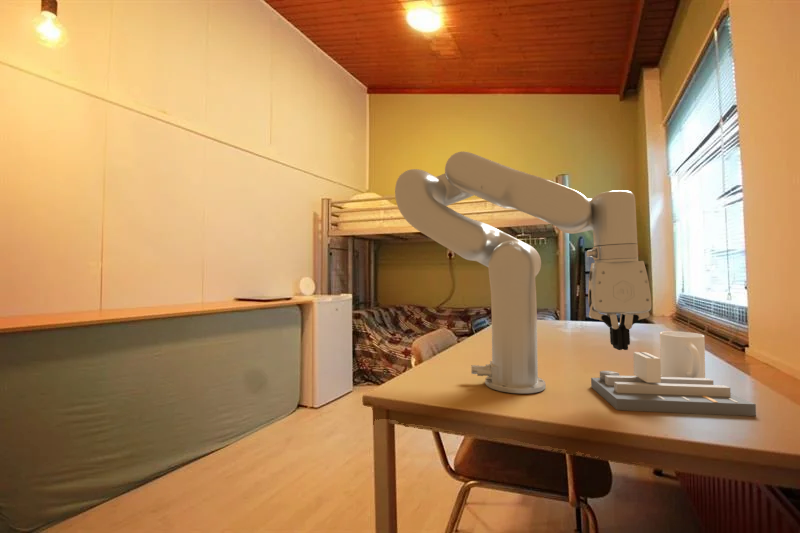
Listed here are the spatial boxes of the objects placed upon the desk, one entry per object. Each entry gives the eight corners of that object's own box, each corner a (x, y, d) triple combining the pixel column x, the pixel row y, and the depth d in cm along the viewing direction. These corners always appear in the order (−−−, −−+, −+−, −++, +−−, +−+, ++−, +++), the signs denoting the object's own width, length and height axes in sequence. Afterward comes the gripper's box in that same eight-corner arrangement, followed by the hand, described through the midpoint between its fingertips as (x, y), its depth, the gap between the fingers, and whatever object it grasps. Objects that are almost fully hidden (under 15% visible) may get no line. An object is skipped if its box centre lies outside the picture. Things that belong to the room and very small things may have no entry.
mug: (721, 391, 80) (720, 340, 80) (674, 387, 82) (673, 339, 83) (695, 375, 92) (694, 332, 92) (655, 373, 94) (654, 330, 94)
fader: (645, 391, 73) (644, 357, 73) (632, 383, 78) (631, 351, 78) (662, 392, 72) (662, 358, 72) (648, 383, 78) (648, 351, 78)
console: (617, 410, 70) (616, 389, 70) (591, 386, 84) (591, 369, 84) (755, 416, 66) (755, 394, 66) (705, 390, 80) (704, 372, 80)
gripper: (581, 255, 74) (585, 352, 73) (667, 252, 72) (672, 352, 71) (570, 257, 81) (574, 345, 81) (647, 254, 79) (652, 345, 79)
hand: (620, 348), depth 76 cm, fingers closed
